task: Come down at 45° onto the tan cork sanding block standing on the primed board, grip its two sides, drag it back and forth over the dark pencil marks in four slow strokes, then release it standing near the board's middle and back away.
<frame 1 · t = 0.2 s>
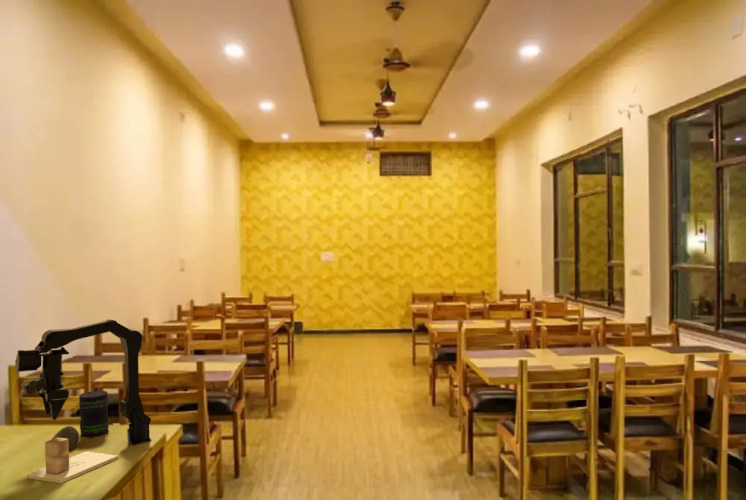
hand: (51, 416, 201), 14 cm above the table, tool pointing down, fingers open, 9 cm apart
stone: (64, 448, 214), on the table
storage jar: (94, 434, 230), on the table
board: (74, 467, 193), on the table
sanding block: (57, 471, 188), point 1 cm above the table, touching board
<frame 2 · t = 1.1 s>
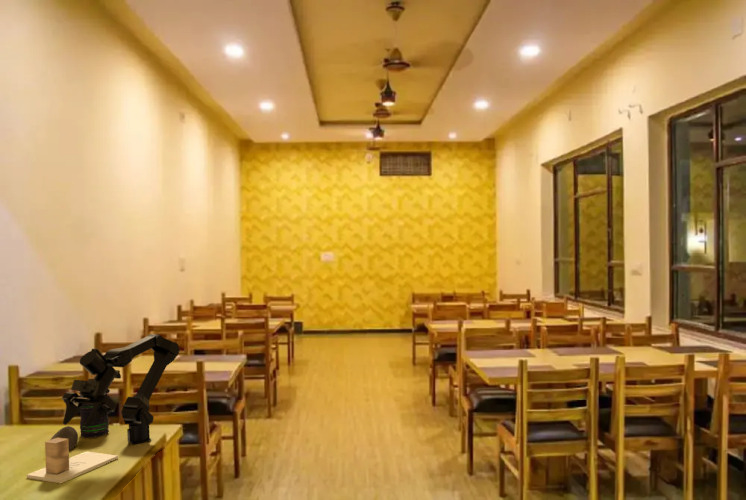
hand: (74, 425, 194), 13 cm above the table, tool tilted 45°, fingers open, 9 cm apart
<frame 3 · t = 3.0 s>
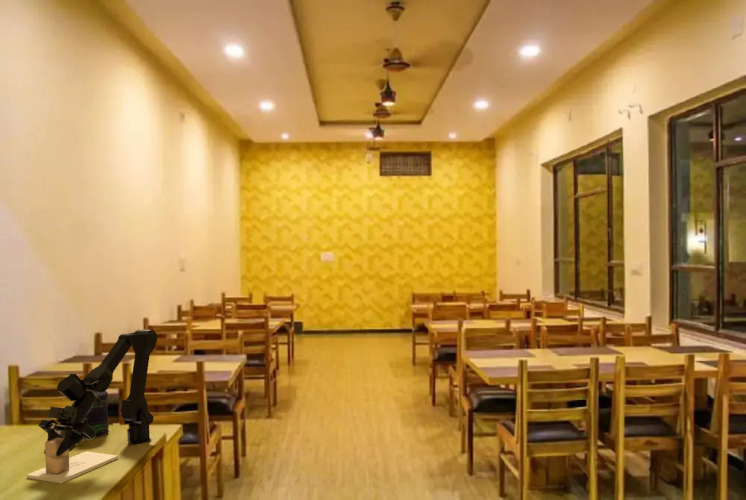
hand: (51, 454, 186), 7 cm above the table, tool tilted 45°, fingers closed on sanding block, 4 cm apart
sanding block: (57, 471, 188), point 1 cm above the table, touching board, gripper
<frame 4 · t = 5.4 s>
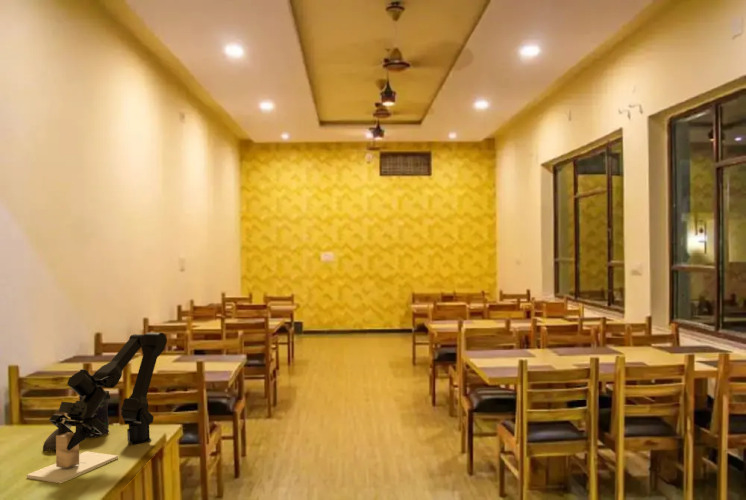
hand: (61, 448, 189), 7 cm above the table, tool tilted 45°, fingers closed on sanding block, 4 cm apart
sanding block: (67, 465, 191), point 2 cm above the table, touching gripper
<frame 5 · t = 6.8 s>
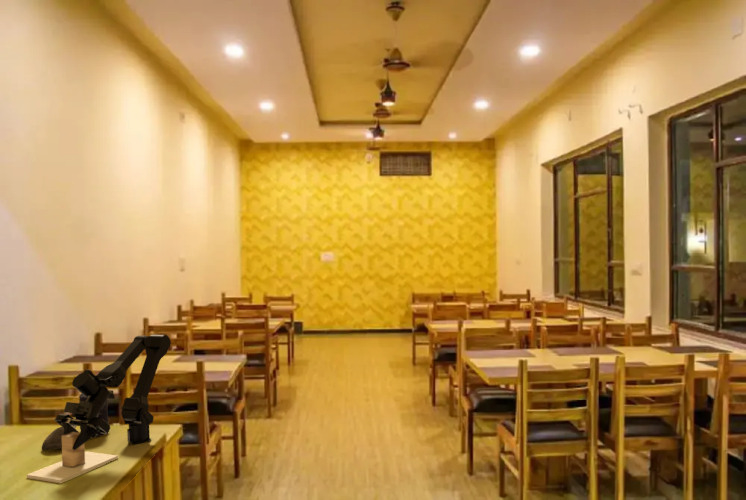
hand: (67, 448, 191), 7 cm above the table, tool tilted 45°, fingers closed on sanding block, 4 cm apart
sanding block: (73, 464, 193), point 1 cm above the table, touching gripper
when the fingers open (7 cm above the table, at t = 7.8 s): sanding block stays where it is, resting on board.
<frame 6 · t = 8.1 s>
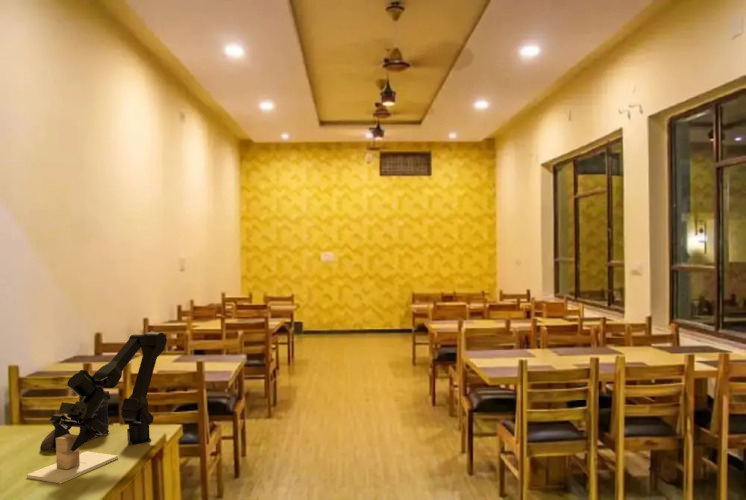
hand: (62, 449, 189), 7 cm above the table, tool tilted 45°, fingers open, 8 cm apart
sanding block: (68, 467, 191), point 1 cm above the table, touching board
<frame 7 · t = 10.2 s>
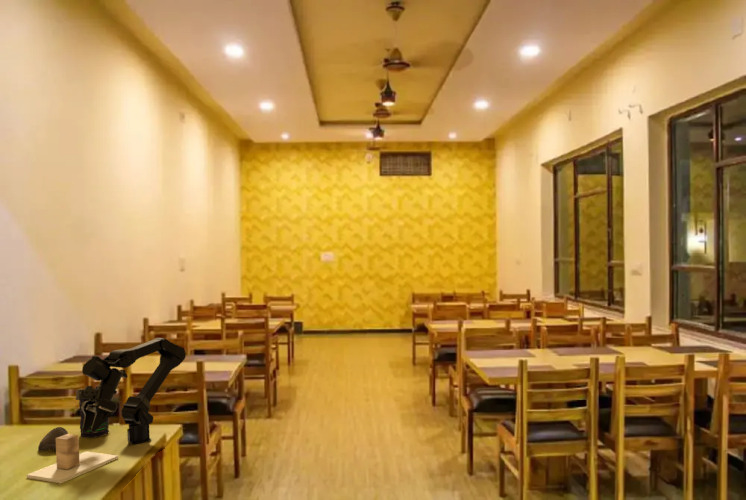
hand: (88, 431, 201), 9 cm above the table, tool tilted 30°, fingers open, 9 cm apart
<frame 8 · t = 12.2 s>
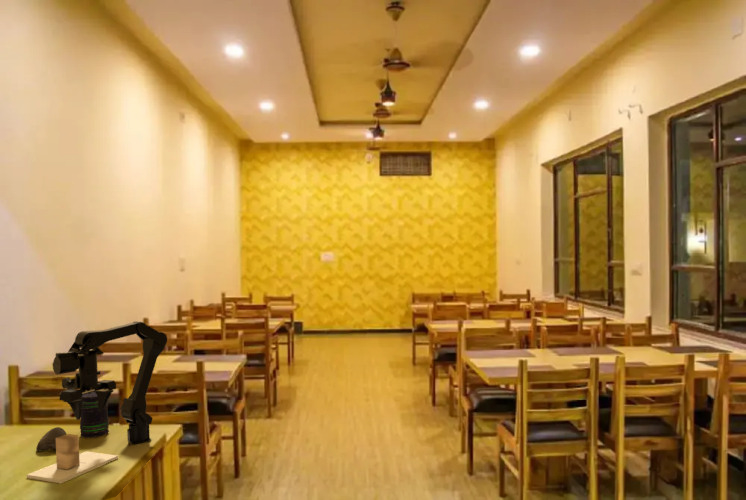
hand: (89, 415, 206), 13 cm above the table, tool pointing down, fingers open, 9 cm apart
at the end: sanding block 0.8 cm from the target spot on the board, point 1.0 cm above the board's base; sanding block tilted 0°; the gripper is holding nothing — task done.
